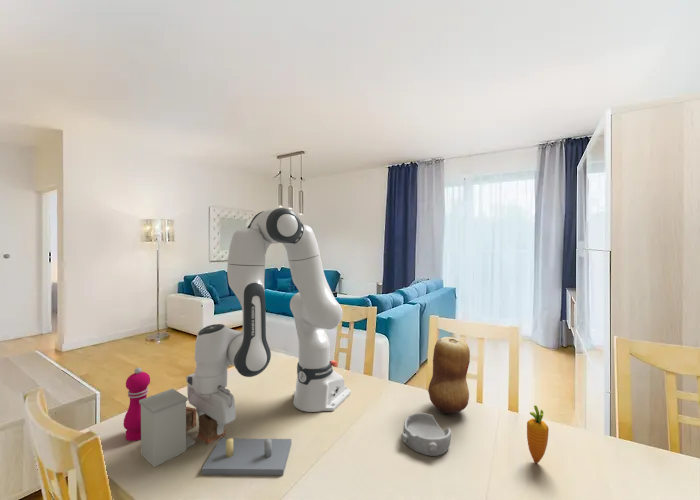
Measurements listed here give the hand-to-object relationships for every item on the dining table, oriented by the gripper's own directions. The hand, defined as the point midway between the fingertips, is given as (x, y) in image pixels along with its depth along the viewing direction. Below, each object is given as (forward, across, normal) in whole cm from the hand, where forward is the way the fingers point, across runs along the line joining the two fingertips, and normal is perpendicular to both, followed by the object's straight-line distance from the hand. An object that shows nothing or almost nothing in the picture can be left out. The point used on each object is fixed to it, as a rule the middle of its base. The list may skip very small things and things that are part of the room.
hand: (210, 427), depth 95 cm
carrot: (+2, -78, -47) cm, 91 cm away
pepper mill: (+3, +17, +13) cm, 21 cm away
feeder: (+3, +3, +10) cm, 11 cm away
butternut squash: (+2, -50, -58) cm, 77 cm away
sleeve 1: (+3, +10, +4) cm, 11 cm away
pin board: (+2, -17, -1) cm, 17 cm away
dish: (+2, -51, -37) cm, 63 cm away
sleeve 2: (+2, 0, 0) cm, 3 cm away
